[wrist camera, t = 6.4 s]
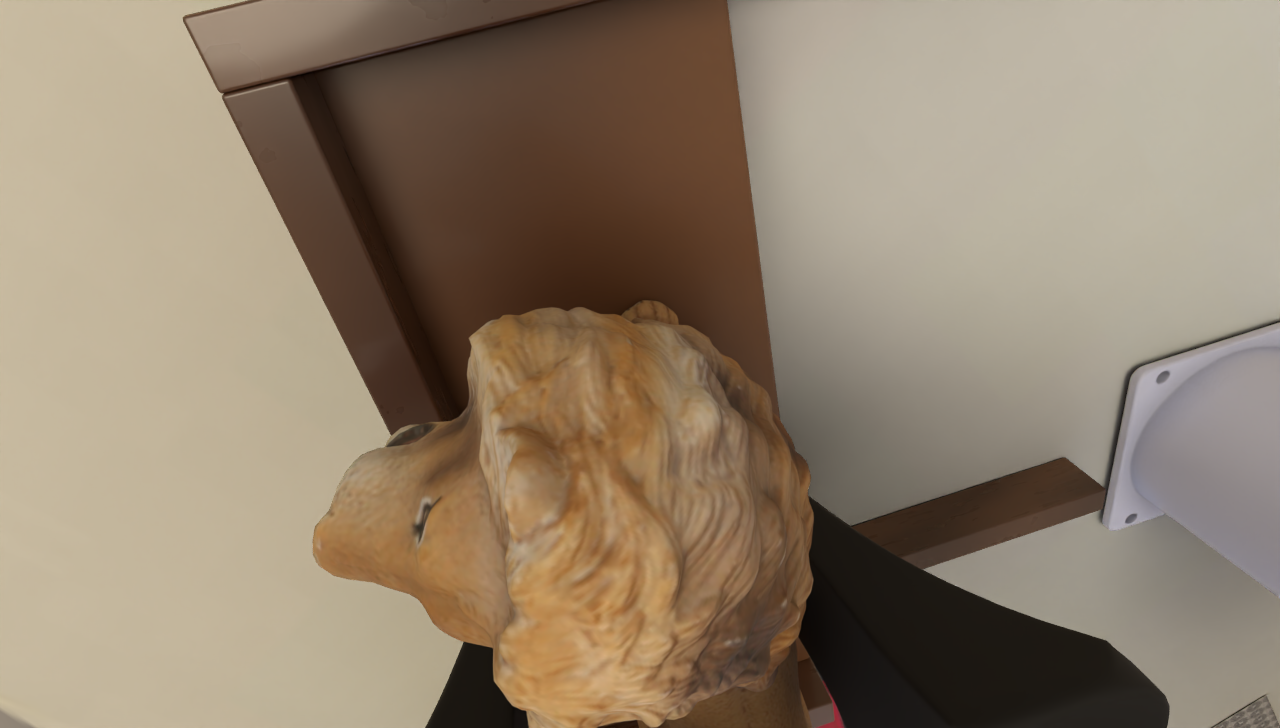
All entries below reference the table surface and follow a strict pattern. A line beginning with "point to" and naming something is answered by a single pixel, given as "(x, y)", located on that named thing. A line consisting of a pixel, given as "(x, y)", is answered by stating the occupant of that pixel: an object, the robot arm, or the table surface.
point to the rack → (535, 200)
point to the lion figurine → (599, 524)
